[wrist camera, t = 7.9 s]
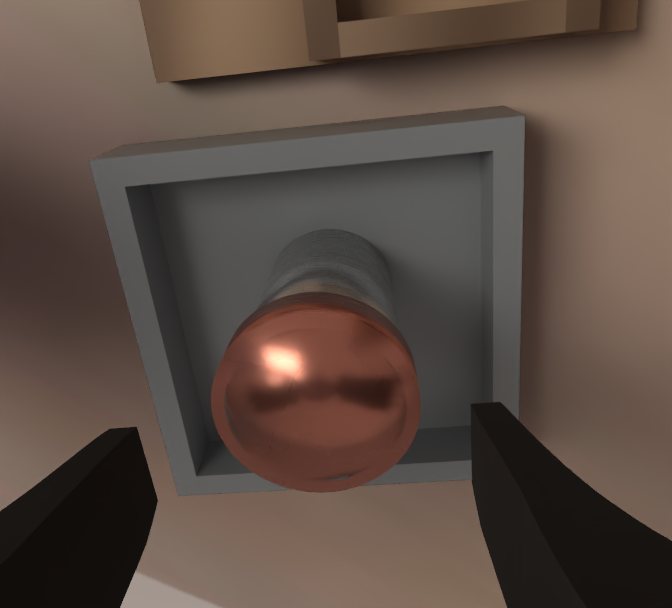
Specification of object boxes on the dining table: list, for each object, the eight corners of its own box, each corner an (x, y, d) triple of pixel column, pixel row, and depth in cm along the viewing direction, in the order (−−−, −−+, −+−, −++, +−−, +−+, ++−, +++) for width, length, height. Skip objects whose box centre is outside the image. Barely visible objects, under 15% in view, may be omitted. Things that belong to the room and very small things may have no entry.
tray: (196, 450, 23) (178, 496, 21) (122, 145, 19) (88, 160, 16) (501, 431, 22) (517, 477, 20) (503, 105, 18) (524, 115, 15)
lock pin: (267, 352, 21) (224, 493, 14) (253, 222, 19) (196, 318, 12) (402, 348, 20) (420, 490, 14) (400, 216, 18) (420, 310, 12)
